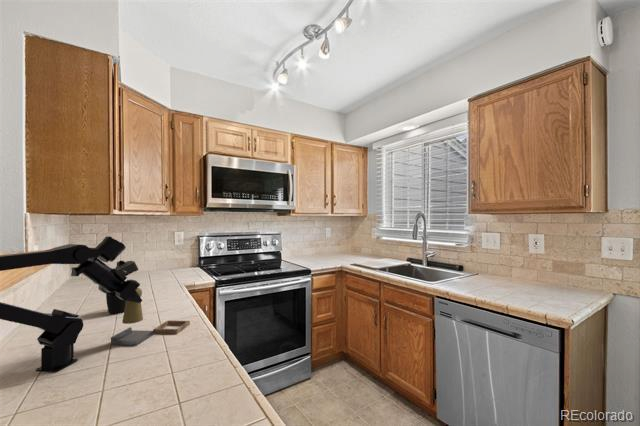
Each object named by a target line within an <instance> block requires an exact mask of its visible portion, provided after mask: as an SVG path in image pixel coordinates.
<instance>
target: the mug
mask: <svg viewBox="0 0 640 426" xmlns="http://www.w3.org/2000/svg"><path fill="white" fill-rule="evenodd" d="M108 293H109V292H107V293H105V299H106V300H105V301H106V307H107V311H108V313H109V315H117V314H118V315H119V314H124V310H125V304H126V300H122V299H119V298H118V297H115V296H111V295H108Z"/></svg>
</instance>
